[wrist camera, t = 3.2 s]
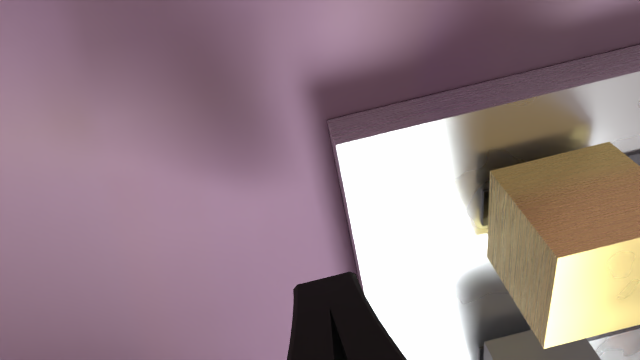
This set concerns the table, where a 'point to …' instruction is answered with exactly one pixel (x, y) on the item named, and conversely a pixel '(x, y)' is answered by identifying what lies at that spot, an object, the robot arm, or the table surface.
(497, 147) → the panel
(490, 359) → the slider grey
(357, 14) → the table surface
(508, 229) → the slider brass
